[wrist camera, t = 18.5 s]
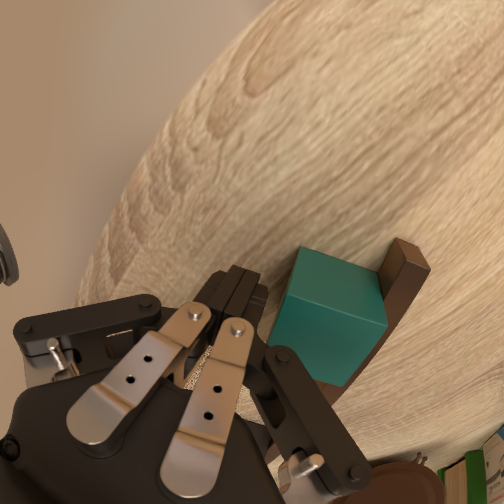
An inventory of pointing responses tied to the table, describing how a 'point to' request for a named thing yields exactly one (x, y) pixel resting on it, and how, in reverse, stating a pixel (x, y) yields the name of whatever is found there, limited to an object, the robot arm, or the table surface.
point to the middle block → (260, 436)
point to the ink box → (495, 467)
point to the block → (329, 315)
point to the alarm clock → (400, 486)
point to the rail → (396, 304)
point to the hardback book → (466, 480)
